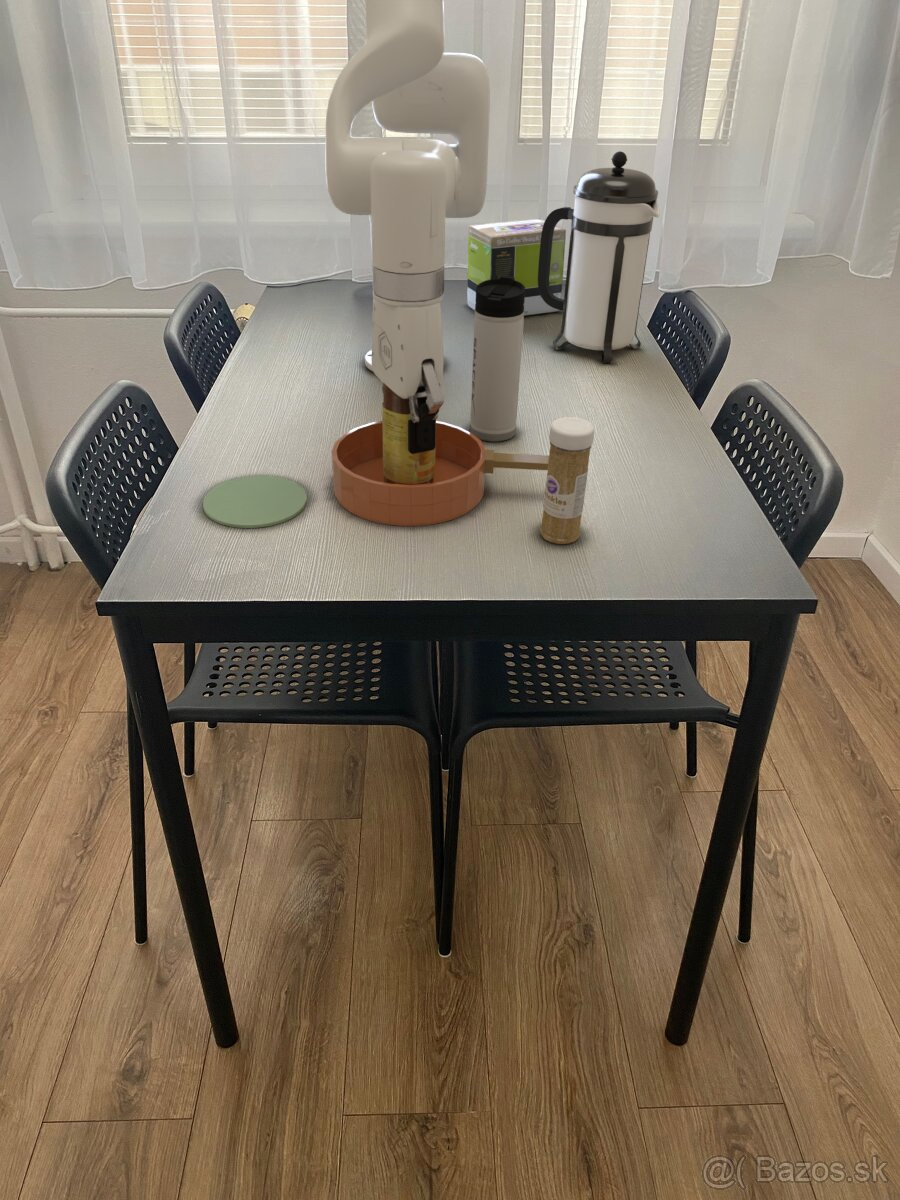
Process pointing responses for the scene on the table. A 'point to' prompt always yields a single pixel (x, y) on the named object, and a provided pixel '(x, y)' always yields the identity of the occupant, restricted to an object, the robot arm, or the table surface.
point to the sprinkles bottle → (566, 479)
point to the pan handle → (514, 461)
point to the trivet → (254, 501)
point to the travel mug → (496, 358)
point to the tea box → (514, 259)
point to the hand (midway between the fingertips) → (409, 437)
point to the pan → (408, 504)
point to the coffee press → (602, 257)
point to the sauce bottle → (403, 443)
